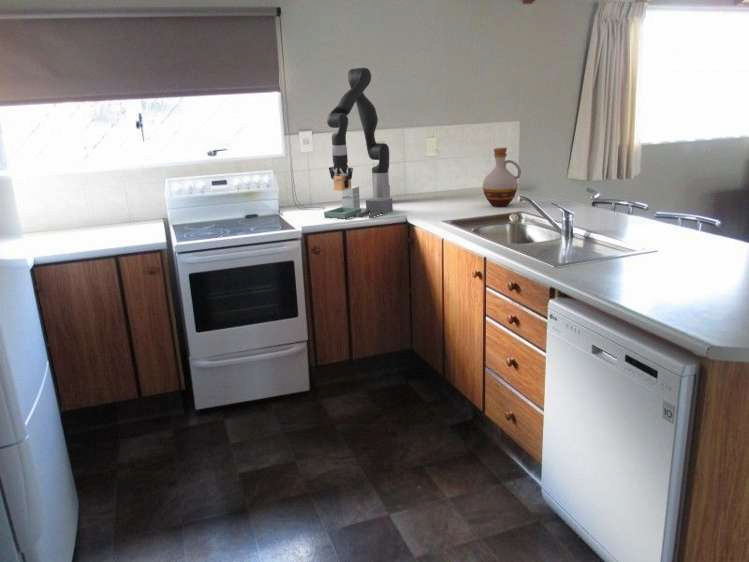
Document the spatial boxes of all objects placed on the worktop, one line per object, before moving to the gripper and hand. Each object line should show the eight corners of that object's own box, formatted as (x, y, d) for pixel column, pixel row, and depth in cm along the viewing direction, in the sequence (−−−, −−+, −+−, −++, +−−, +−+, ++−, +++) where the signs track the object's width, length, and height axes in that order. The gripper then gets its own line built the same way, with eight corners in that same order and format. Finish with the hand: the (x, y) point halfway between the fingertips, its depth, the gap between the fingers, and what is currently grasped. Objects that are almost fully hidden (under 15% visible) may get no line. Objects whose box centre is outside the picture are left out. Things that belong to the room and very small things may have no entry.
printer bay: (377, 210, 339) (376, 197, 337) (392, 211, 334) (392, 198, 332) (355, 217, 324) (354, 203, 322) (371, 218, 318) (370, 204, 316)
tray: (341, 212, 338) (341, 206, 338) (361, 214, 331) (361, 208, 330) (324, 217, 327) (323, 212, 326) (344, 219, 320) (344, 213, 319)
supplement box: (342, 211, 342) (340, 187, 339) (348, 208, 349) (347, 185, 345) (353, 211, 339) (352, 188, 335) (360, 209, 345) (359, 185, 342)
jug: (518, 202, 342) (519, 145, 333) (522, 208, 325) (523, 148, 316) (481, 203, 344) (481, 147, 335) (483, 209, 327) (483, 150, 318)
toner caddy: (343, 187, 330) (342, 174, 328) (351, 188, 328) (350, 174, 326) (332, 190, 323) (331, 176, 321) (340, 191, 320) (339, 177, 318)
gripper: (355, 153, 319) (357, 187, 324) (333, 153, 327) (335, 185, 332) (346, 155, 313) (349, 189, 318) (324, 154, 321) (326, 188, 326)
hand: (342, 187), depth 325 cm, fingers closed on toner caddy, 5 cm apart
